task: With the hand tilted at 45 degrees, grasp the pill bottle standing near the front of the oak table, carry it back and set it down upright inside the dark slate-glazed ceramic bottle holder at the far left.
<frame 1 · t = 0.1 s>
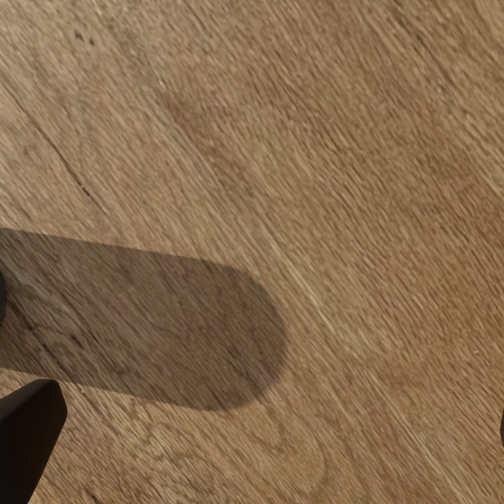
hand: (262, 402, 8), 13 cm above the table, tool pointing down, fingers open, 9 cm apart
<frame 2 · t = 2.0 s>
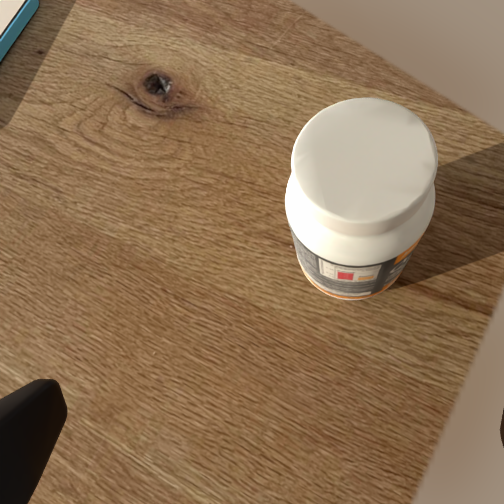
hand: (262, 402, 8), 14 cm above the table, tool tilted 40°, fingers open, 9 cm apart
pill bottle: (349, 251, 23), on the table
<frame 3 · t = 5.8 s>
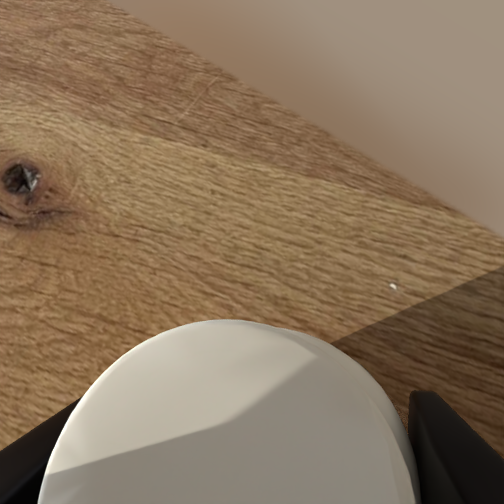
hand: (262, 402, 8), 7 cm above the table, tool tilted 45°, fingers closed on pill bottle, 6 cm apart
pill bottle: (290, 453, 14), on the table, touching gripper
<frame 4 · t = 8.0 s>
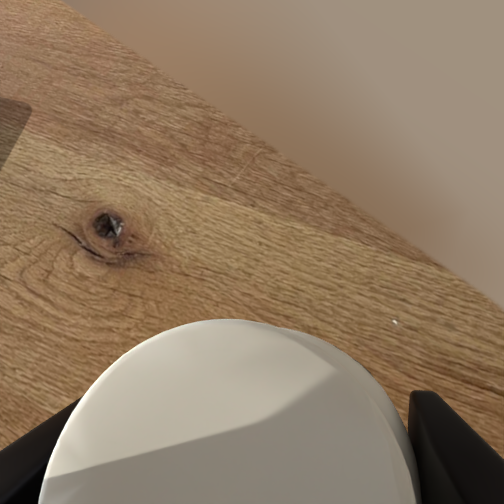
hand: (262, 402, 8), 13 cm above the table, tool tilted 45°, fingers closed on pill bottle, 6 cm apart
pill bottle: (291, 453, 14), point 6 cm above the table, touching gripper
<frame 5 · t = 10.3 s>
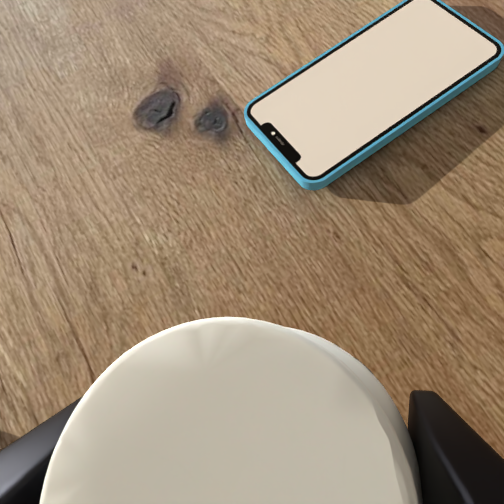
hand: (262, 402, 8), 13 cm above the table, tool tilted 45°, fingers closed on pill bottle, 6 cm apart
smartphone: (369, 94, 27), on the table
pill bottle: (291, 452, 14), point 7 cm above the table, touching gripper
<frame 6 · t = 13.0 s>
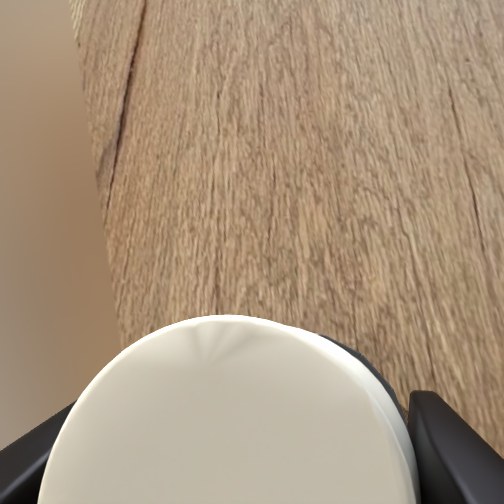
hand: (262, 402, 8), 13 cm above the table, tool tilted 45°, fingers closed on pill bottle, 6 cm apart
holder: (302, 436, 20), on the table
pill bottle: (290, 451, 14), point 6 cm above the table, touching gripper
when the fingers open (7 cm above the table, at t = 15.1 s): pill bottle stays where it is, resting on holder.
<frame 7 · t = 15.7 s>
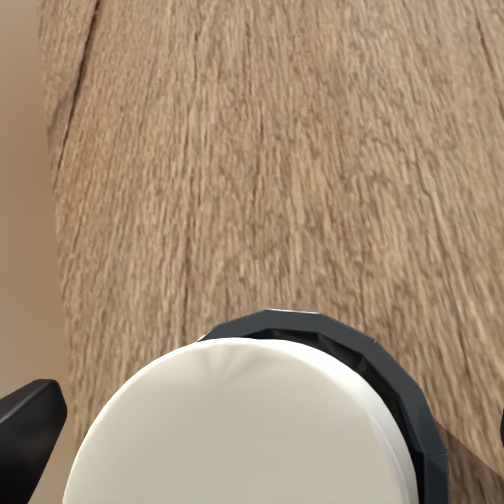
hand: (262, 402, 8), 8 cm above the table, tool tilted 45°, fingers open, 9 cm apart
holder: (293, 453, 15), on the table
pill bottle: (292, 457, 14), resting on holder
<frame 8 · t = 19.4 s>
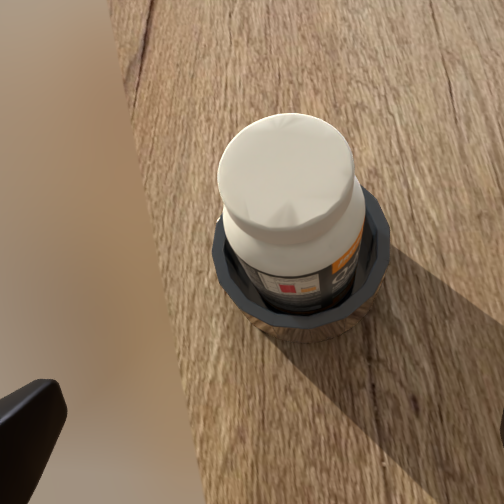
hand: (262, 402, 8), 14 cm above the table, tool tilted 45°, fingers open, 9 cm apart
holder: (303, 268, 24), on the table
pill bottle: (303, 268, 23), resting on holder
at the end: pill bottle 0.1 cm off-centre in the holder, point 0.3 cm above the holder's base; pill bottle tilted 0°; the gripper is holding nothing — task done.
